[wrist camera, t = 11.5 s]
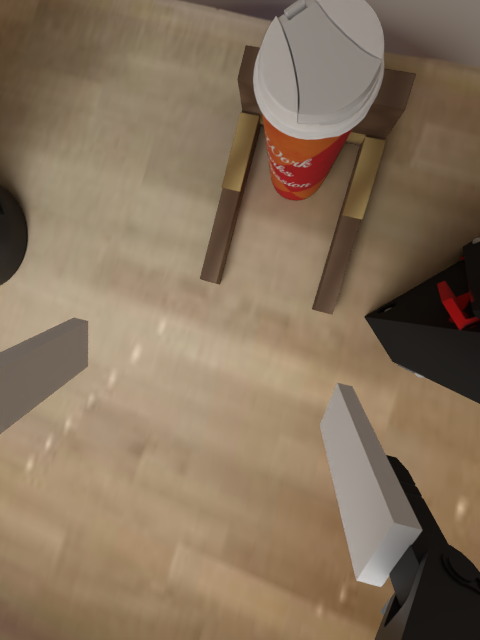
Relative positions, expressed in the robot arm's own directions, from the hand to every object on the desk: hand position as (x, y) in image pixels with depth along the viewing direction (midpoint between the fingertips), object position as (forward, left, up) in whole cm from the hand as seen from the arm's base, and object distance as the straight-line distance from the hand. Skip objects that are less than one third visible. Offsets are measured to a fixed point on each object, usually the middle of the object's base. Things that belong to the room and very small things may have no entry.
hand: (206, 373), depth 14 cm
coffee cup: (+1, +20, -19) cm, 27 cm away
